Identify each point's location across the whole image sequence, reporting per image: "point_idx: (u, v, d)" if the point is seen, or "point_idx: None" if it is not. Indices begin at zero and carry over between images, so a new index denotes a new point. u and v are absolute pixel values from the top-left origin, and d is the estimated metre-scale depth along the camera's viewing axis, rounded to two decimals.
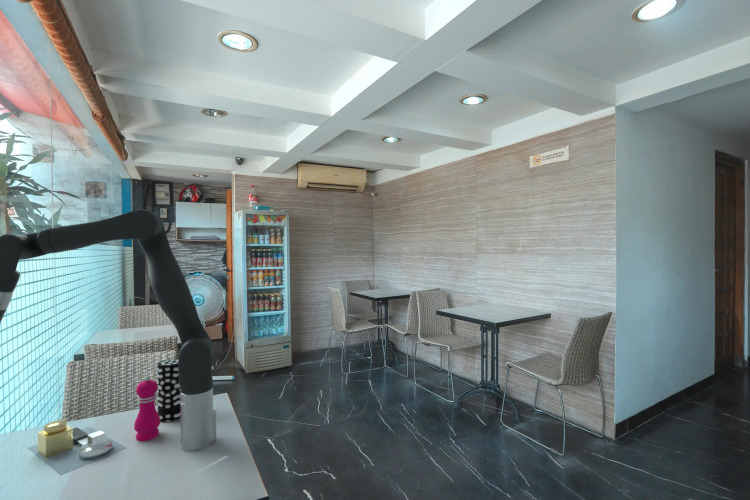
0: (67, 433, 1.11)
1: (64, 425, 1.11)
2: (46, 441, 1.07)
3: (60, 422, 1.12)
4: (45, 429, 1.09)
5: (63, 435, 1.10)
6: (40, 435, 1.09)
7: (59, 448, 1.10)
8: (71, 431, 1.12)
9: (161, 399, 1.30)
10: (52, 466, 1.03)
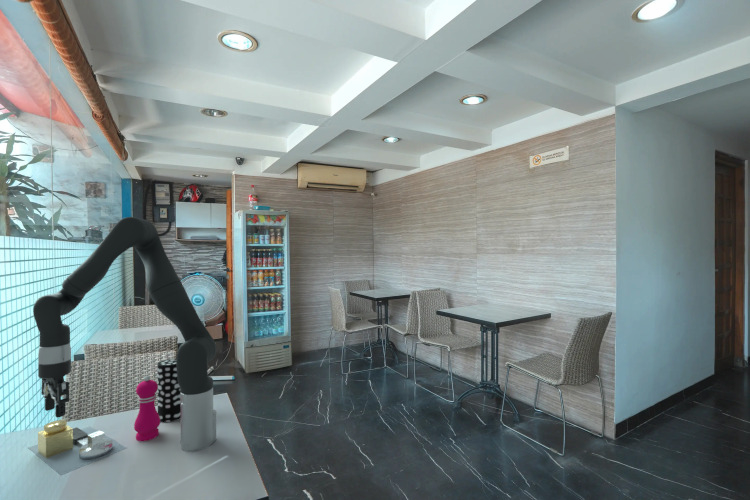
0: (67, 433, 1.11)
1: (64, 425, 1.11)
2: (46, 441, 1.07)
3: (60, 422, 1.12)
4: (45, 429, 1.09)
5: (63, 435, 1.10)
6: (40, 435, 1.09)
7: (59, 448, 1.10)
8: (71, 431, 1.12)
9: (161, 399, 1.30)
10: (52, 466, 1.03)
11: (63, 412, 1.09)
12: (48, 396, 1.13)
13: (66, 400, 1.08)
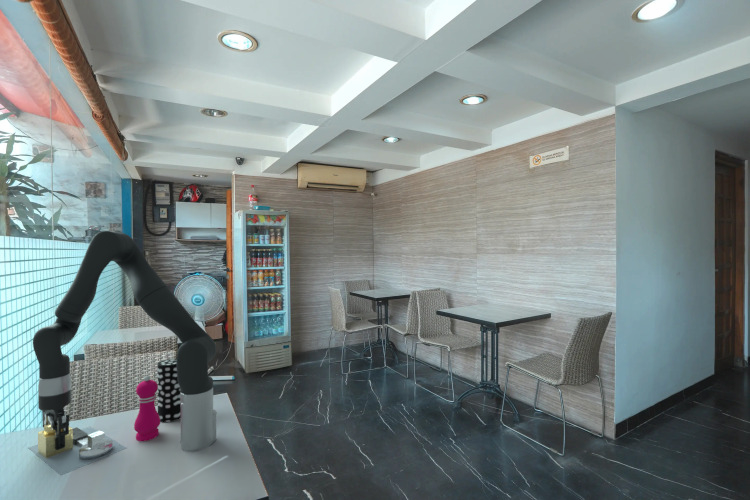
0: None
1: None
2: (46, 441, 1.07)
3: None
4: (45, 429, 1.09)
5: None
6: (40, 435, 1.09)
7: None
8: (71, 431, 1.12)
9: (161, 399, 1.30)
10: (52, 466, 1.03)
11: (63, 444, 1.09)
12: None
13: (65, 433, 1.08)
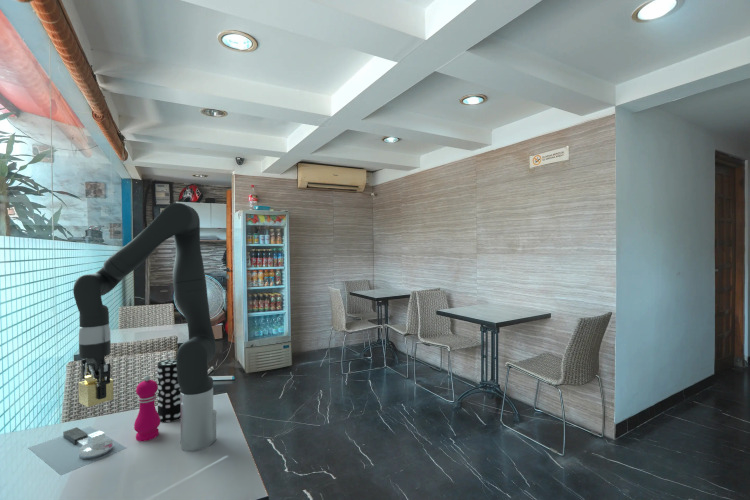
0: (107, 384, 1.10)
1: None
2: (88, 390, 1.06)
3: None
4: (86, 378, 1.08)
5: None
6: (81, 385, 1.08)
7: None
8: (111, 382, 1.11)
9: (161, 399, 1.30)
10: (52, 466, 1.03)
11: (104, 394, 1.08)
12: None
13: (107, 381, 1.07)
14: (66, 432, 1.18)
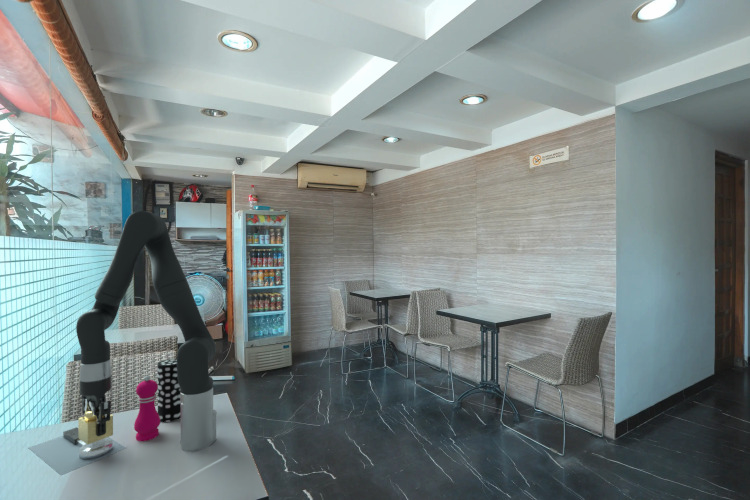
0: None
1: None
2: (88, 427, 1.06)
3: None
4: (86, 415, 1.08)
5: None
6: (81, 421, 1.08)
7: None
8: (111, 418, 1.11)
9: (161, 399, 1.30)
10: (52, 466, 1.03)
11: (104, 431, 1.08)
12: None
13: (107, 419, 1.07)
14: (66, 432, 1.18)
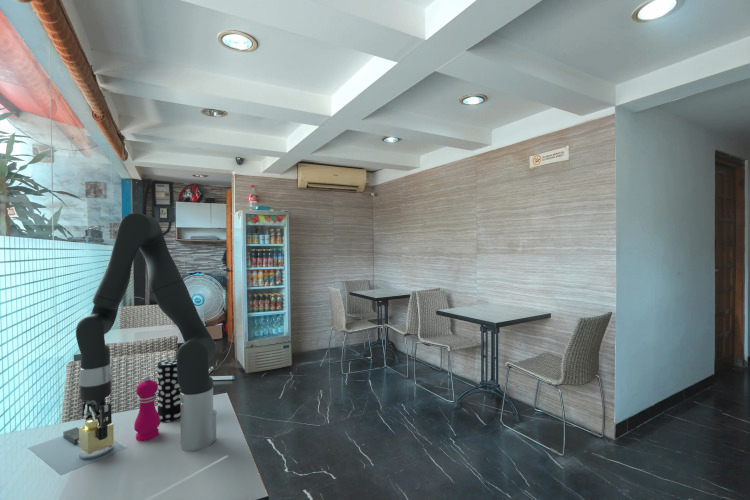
0: (108, 428, 1.10)
1: None
2: (88, 436, 1.06)
3: None
4: (87, 424, 1.07)
5: None
6: (81, 430, 1.08)
7: (100, 443, 1.08)
8: (112, 426, 1.11)
9: (161, 399, 1.30)
10: (52, 466, 1.03)
11: (105, 434, 1.07)
12: (88, 418, 1.12)
13: (109, 422, 1.07)
14: (66, 432, 1.18)
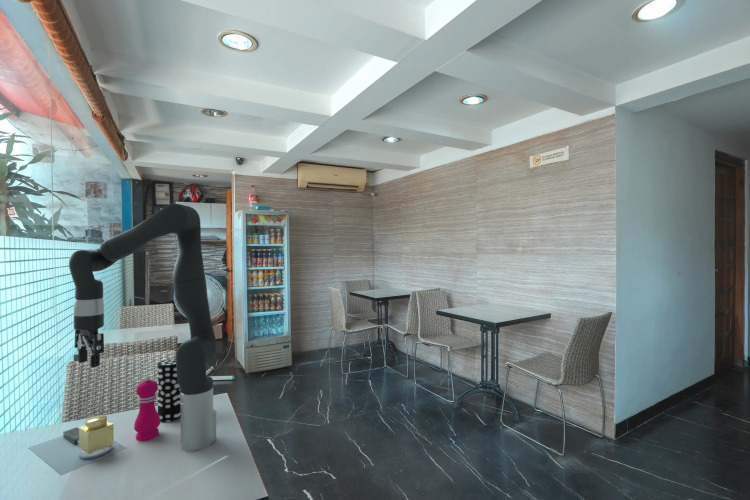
0: (108, 428, 1.10)
1: (105, 420, 1.10)
2: (88, 436, 1.06)
3: (101, 417, 1.11)
4: (87, 424, 1.07)
5: (104, 430, 1.09)
6: (81, 430, 1.08)
7: (100, 443, 1.08)
8: (112, 426, 1.11)
9: (161, 399, 1.30)
10: (52, 466, 1.03)
11: (98, 362, 1.13)
12: (81, 349, 1.18)
13: (101, 351, 1.13)
14: (66, 432, 1.18)
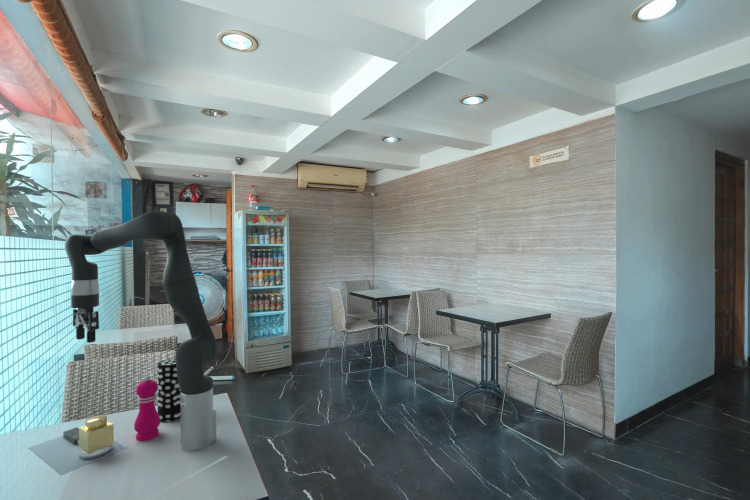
0: (108, 428, 1.10)
1: (105, 420, 1.10)
2: (88, 436, 1.06)
3: (101, 417, 1.11)
4: (87, 424, 1.07)
5: (104, 430, 1.09)
6: (81, 430, 1.08)
7: (100, 443, 1.08)
8: (112, 426, 1.11)
9: (161, 399, 1.30)
10: (52, 466, 1.03)
11: (93, 338, 1.23)
12: (79, 327, 1.27)
13: (96, 327, 1.22)
14: (66, 432, 1.18)
